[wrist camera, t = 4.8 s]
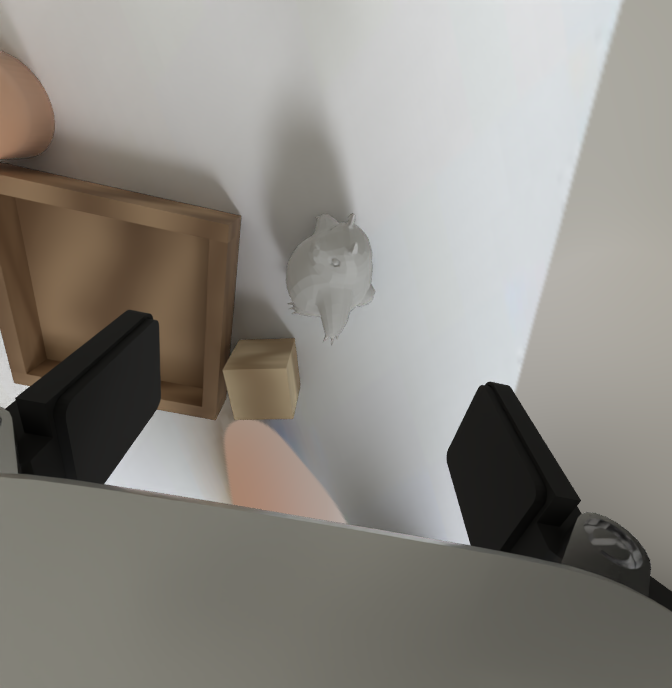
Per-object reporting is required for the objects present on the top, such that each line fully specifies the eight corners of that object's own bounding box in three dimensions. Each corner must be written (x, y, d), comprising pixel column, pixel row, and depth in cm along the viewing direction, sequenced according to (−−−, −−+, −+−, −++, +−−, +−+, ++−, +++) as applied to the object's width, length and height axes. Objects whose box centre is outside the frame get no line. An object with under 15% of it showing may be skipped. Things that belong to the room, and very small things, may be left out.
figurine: (279, 237, 24) (297, 146, 17) (364, 243, 26) (414, 161, 19) (283, 357, 22) (305, 312, 15) (376, 356, 24) (437, 314, 17)
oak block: (295, 337, 27) (286, 368, 23) (300, 384, 29) (293, 418, 25) (239, 339, 27) (222, 369, 23) (248, 385, 29) (234, 419, 25)
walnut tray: (241, 215, 23) (228, 225, 20) (226, 398, 29) (215, 420, 27) (-1, 162, 22) (-43, 165, 19) (41, 363, 28) (14, 383, 26)
